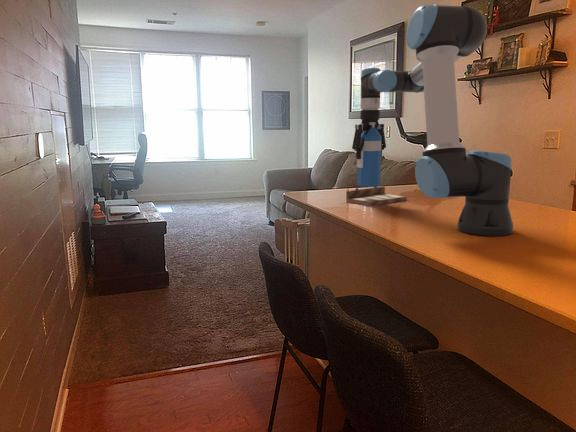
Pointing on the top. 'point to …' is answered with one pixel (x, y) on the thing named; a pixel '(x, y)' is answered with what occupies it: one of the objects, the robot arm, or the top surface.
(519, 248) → the top surface
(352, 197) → the ledge board
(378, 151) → the water bottle
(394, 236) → the top surface
